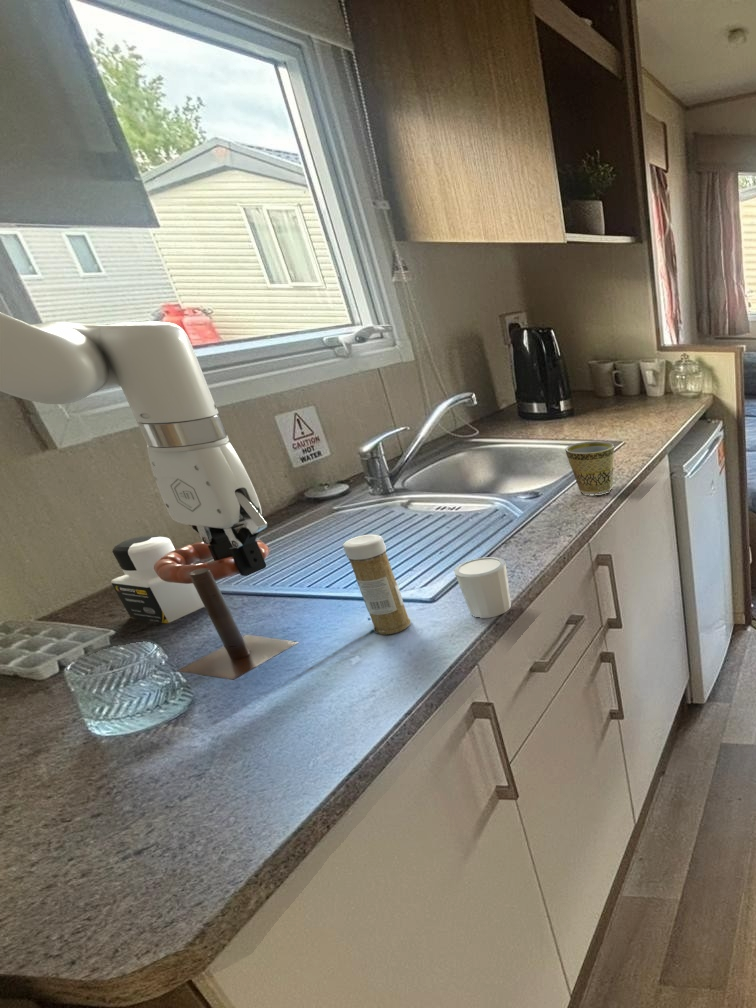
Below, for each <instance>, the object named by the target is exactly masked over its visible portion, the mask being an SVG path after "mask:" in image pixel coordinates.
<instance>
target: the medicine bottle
mask: <svg viewBox="0 0 756 1008" xmlns="http://www.w3.org/2000/svg"><path fill="white" fill-rule="evenodd" d="M174 550H176V549H175V547H174V544H173V542H172V540H171V539H170V538H169V537H167V536H165V535H159V534H148V535H141V536H136V537H132V538H128V539H126V540H123V541H121V542H119V543H118V544H116V545H115V546H114V547H113V548H112V551H111V552H112V554H113V556H114V558H115V559H116V561H117V563H118V565H119V567H120V569H121V570H122V572H123V574H124V575H121V576H118V577H115V578H112V579H111V581H110V584H111V586H112V587H113V589H114V591H115V593H116V595H117V596H118V597H119V600H120V601H121V603H122V605H123V607H124V608H125V610H126V612H127V614H128V616H129V618H130V619H133V620H141V621H146V622H147V621H148V622H154V623H160V624H161V623H162V624H170V623H172V622H174V621H177V620H179V619H181V618H183V617H186V616H187V615H189V614H191V613H194V612H196V611H198V610H201V609H203V608H205V606H204V604H203V602H202V600H201V598H200V596H199V594H198V592H197V590H196V588H195V586H194V584H193V583H191V584H184V583H173V582H166V581H163V580H162V579H161V578H160V577H159V576H158V575H157V573H156V572H155V570H154V565H155V563H156V562H157V561H158V560H159V559H161V558H162V557H163V556H164V555H166V554H167V553H169V552H172V551H174Z"/></svg>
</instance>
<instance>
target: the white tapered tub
mask: <svg viewBox="0 0 756 1008" xmlns="http://www.w3.org/2000/svg"><path fill="white" fill-rule="evenodd" d="M507 570H508V569H507V564H506V561H505V559H503V558H500V557H493V556H487V557H478V558H474V559H470V560H467V561H464V562H462V563H460V564H458V565H457V566H456V567H455V568H454V569H453V573H454V575H455V578H456V581H457V583H458V586H459V588H460V591H461V593H462V596H463V598H464V600H465V602H466V605H467V608H468V611H469V613H470V616H472V615H473V616H472V617H474V616H475V617H474V618H476V617H480V618H479V619H488V618H489V619H490V618H494V617H498V616H500V615H503V614H505V613H506V612H508V611H509V610H510V609H511V607H512V600H511V593H510V585H509V577H508V571H507Z"/></svg>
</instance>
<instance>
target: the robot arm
mask: <svg viewBox="0 0 756 1008" xmlns="http://www.w3.org/2000/svg"><path fill="white" fill-rule="evenodd" d="M116 387H120V388H121V389H122V392H123V394H124V397H125V398H126V400H127V403H128V405H129V407H130V410H131V411H132V414H133V416H134V418H135V421H136V422H137V425H138V427H139V430H140V432H141V434H142V436H143V438H144V440H145V442H146V445H147V446H146V450H147V457H148V461H149V465H150V469H151V472H152V475H153V478H154V480H155V484H156V486H157V489H158V492H159V495H160V497H161V499H162V501H163V504H164V506H165V509H166V511H167V513H168V515H169V517H170V518H171V520H172V521H175V522H176V523H179V524H182V525H187V526H189V527H191V528H192V530H194V531H195V532H196V533H197V534H199V537H200V539H201V542H203V543H204V544H206V545H209V544H210V545H209V546H208V548H209V550H210V552H211V554H212V557H213V558H212V559H213V561H216V560H220V559H224V558H228V557H231V556H233V559H234V561H235V563H236V566H237V568H238V570H239V573H240V574H239V575H240V576H242V577H248V576H250V575H252V574H254V573H257V572H260V571H262V570H265V569H266V568H267V563H266V560H264V558H263V556H262V553H261V551H260V548H259V546H258V544H257V541H258V540H260V537H259V534H260V532H262V531H263V530H265V529H266V528H268V523H267V521H266V520H265V519H264V518H263V516H262V513H263V511H262V506H261V503H260V499H259V497H258V495H257V492H256V489H255V487H254V485H253V483H252V480H251V478H250V476H249V474H248V472H247V469H246V468H245V465H244V464H243V462H242V461H241V458H240V457H239V455H238V453H237V452H236V450H235V447H233V445H232V443H231V442H230V438H229V436H228V433H227V431H226V428H225V426H224V423H223V420H222V418H221V415H220V413H219V410H218V408H217V405H216V403H215V400H214V398H213V395H212V393H211V391H210V388H209V385H208V382H207V380H206V378H205V375H204V371H202V367H201V365H200V363H199V360H198V357H197V354H196V352H195V350H194V347H193V345H192V342H191V340H190V338H189V335H188V334H187V332H186V331H185V330H184V329H183V328H182V327H181V326H179V325H177V324H176V323H172V322H166V321H134V322H131V321H130V322H119V323H118V322H117V323H113V324H108V325H107V324H90V323H89V324H88V323H77V322H64V321H47V322H40V323H34V324H30V323H27V322H25V321H23V320H20V319H19V318H16V317H12V316H11V315H8V314H6V313H3V312H1V311H0V392H1V393H5V394H7V395H10V396H12V397H16V398H18V399H23V400H26V401H30V402H33V403H34V402H35V403H39V404H40V403H41V404H44V405H45V404H46V405H66V404H73V403H76V402H78V401H81V400H83V399H85V398H87V397H88V396H90V395H91V394H95V393H98V392H99V391H102V390H105V389H110V388H116ZM240 527H241V528H240ZM237 528H239V530H238V531H237Z"/></svg>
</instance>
